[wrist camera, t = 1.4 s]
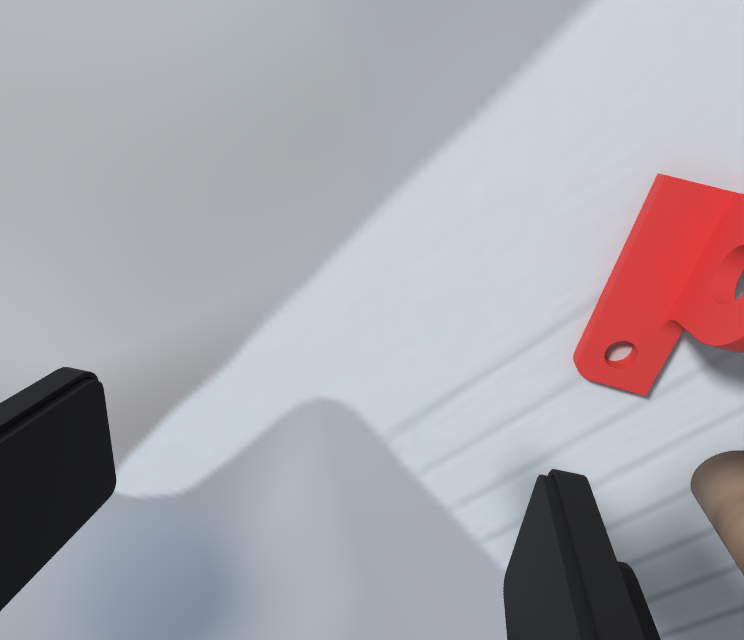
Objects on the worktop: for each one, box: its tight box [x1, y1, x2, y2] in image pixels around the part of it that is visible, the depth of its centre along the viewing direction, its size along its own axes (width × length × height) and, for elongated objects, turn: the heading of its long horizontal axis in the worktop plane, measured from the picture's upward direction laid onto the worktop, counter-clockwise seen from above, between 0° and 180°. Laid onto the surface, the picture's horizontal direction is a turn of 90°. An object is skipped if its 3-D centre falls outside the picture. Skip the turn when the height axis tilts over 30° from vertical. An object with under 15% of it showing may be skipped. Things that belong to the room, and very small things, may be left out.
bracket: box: [573, 174, 744, 396], centre depth 23 cm, size 12×4×8 cm, turn 167°
